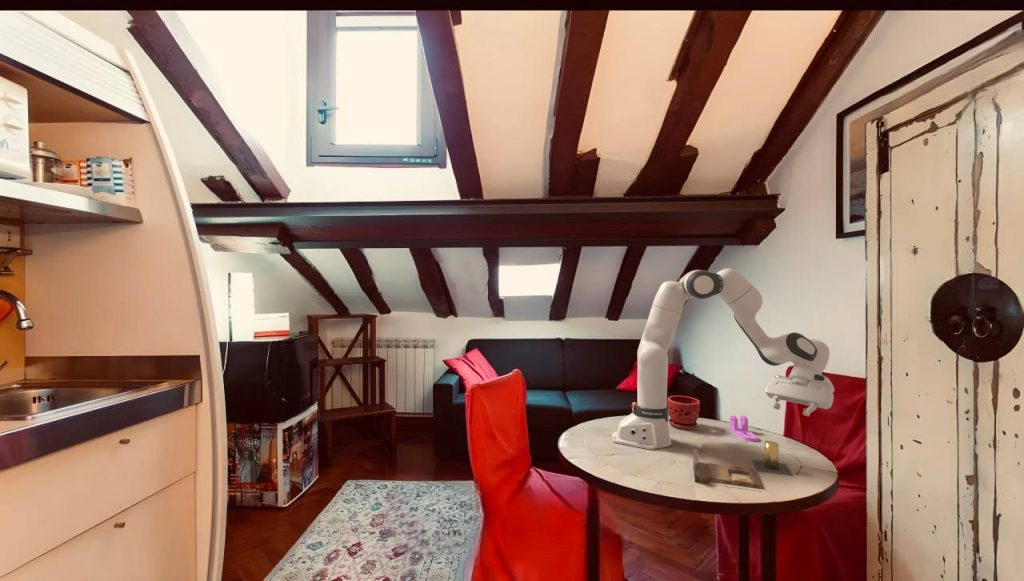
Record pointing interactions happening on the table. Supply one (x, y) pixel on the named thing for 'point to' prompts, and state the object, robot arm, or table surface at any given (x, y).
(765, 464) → the brass peg
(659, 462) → the table surface
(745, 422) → the bracket
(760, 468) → the pad
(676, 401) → the plant pot
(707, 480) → the socket block
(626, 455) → the table surface
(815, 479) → the table surface
